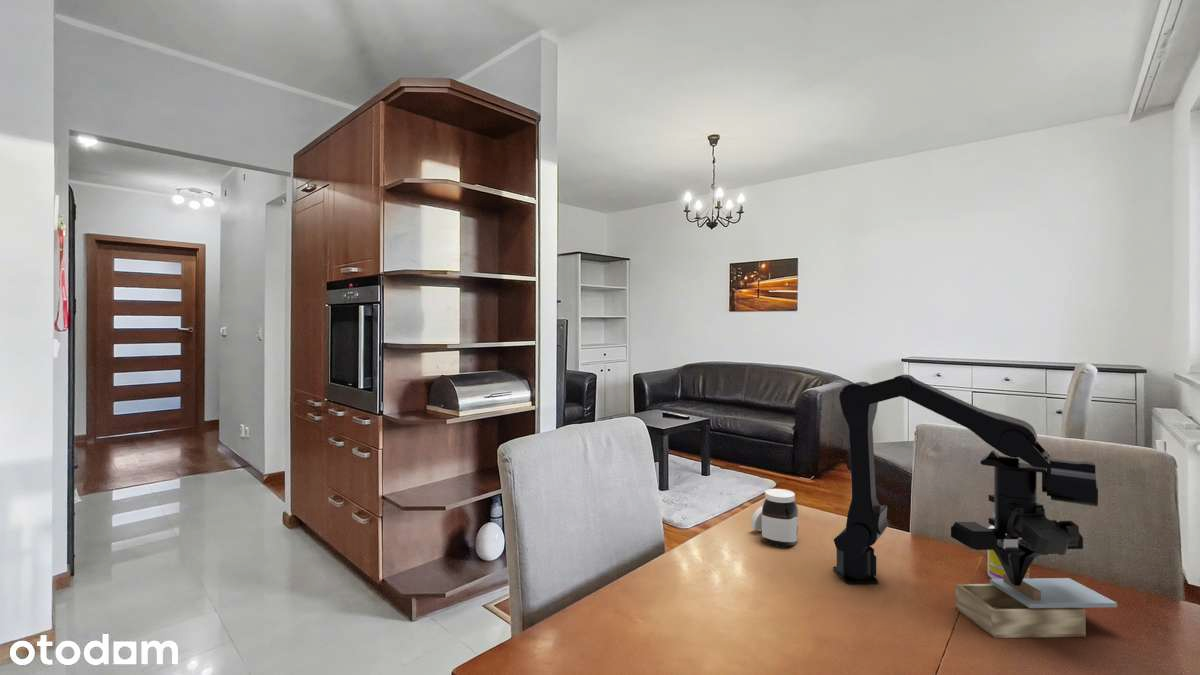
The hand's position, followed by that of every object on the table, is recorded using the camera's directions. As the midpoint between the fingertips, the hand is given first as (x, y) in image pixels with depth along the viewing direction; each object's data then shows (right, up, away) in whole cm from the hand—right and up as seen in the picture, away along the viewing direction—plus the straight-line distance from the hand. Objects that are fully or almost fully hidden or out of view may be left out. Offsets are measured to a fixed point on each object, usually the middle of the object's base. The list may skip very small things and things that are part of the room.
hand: (1015, 584), depth 89 cm
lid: (+6, -2, 0) cm, 6 cm away
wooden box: (0, -7, 0) cm, 7 cm away
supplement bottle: (+11, -7, +15) cm, 20 cm away
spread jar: (-29, -7, +37) cm, 48 cm away
